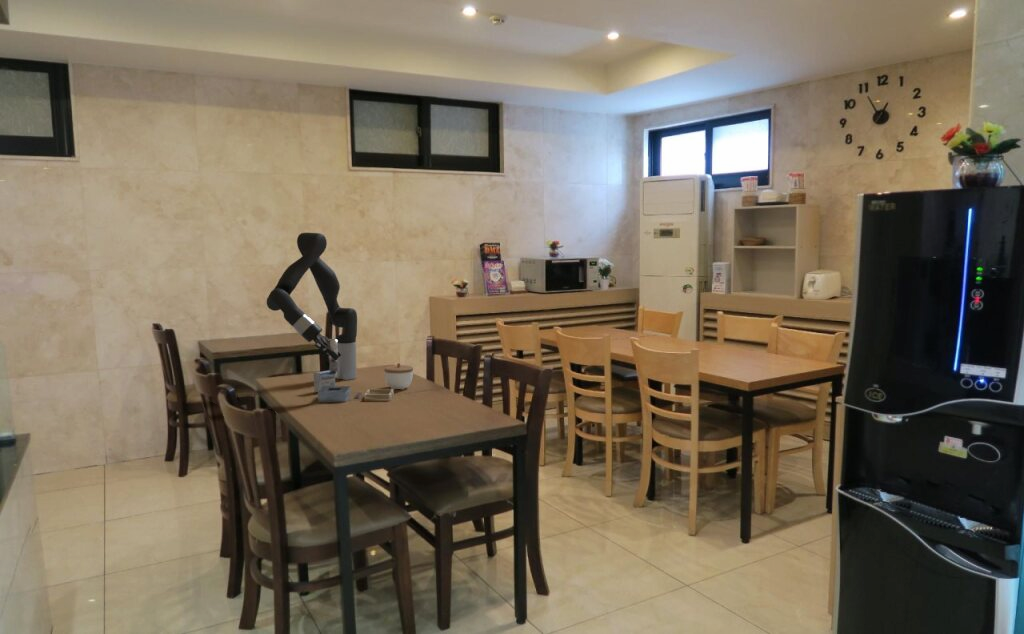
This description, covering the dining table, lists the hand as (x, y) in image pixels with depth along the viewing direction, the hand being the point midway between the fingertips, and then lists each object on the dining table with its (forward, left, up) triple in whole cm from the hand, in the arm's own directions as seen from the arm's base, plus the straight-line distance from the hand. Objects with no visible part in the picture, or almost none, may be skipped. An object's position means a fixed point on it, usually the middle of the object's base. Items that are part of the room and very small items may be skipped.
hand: (338, 357), depth 275 cm
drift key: (-4, +7, -18) cm, 19 cm away
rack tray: (-1, +16, -17) cm, 24 cm away
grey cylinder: (0, -2, -7) cm, 7 cm away
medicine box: (-14, -9, -17) cm, 24 cm away
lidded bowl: (-20, +22, -17) cm, 34 cm away
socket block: (0, -2, -17) cm, 17 cm away
